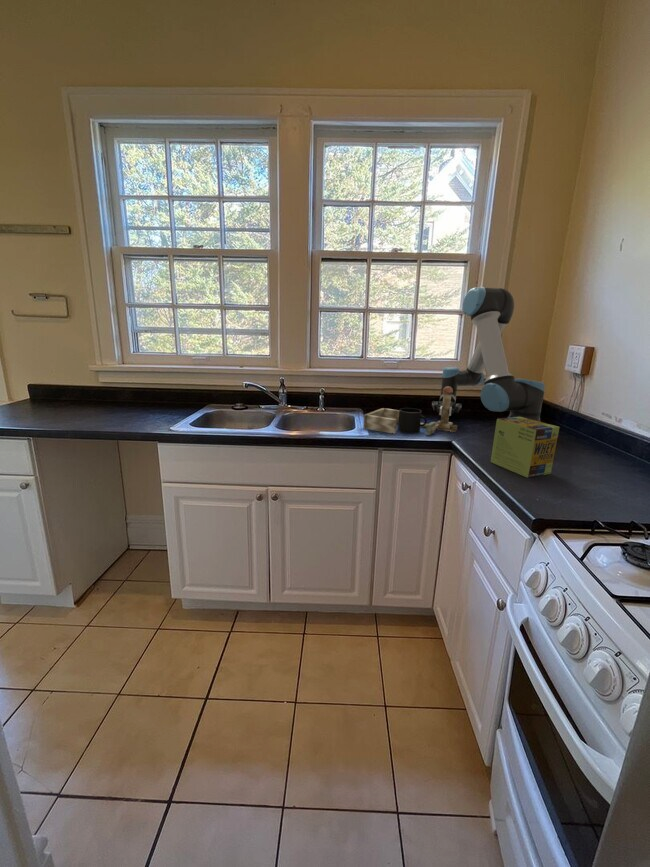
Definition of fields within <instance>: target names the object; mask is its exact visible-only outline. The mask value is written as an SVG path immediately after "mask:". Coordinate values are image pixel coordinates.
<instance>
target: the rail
mask: <svg viewBox="0 0 650 867" xmlns="http://www.w3.org/2000/svg"><path fill="white" fill-rule="evenodd" d="M424 423H425V422H421V424H424ZM427 424H428V423H426V425H427ZM426 425H424V426H421V427H420V428H423V427H425V429H426ZM458 426H459V425H458V424H453V426H452V427H451V428H450V429H446V428H438V429H437V430H436V431H441V430H443V432H447V431H450V432H449V433H453V432H455V433H456V432H457V431H458Z"/></svg>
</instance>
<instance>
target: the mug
mask: <svg viewBox="0 0 650 867" xmlns="http://www.w3.org/2000/svg"><path fill="white" fill-rule="evenodd" d="M422 419H424V422H423V423H424V424H421V423H422ZM427 422H428V419H427V417H426V416H424V415H422V410H421V409H418V408H413V407H403V408H400V409H399V421H398V424H397V431H399V432H401V433H404V432H405V433H406V434H417V433H419V432H420V431H421V428H422V427H421V426H424V425H426V424H428V423H427Z"/></svg>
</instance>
